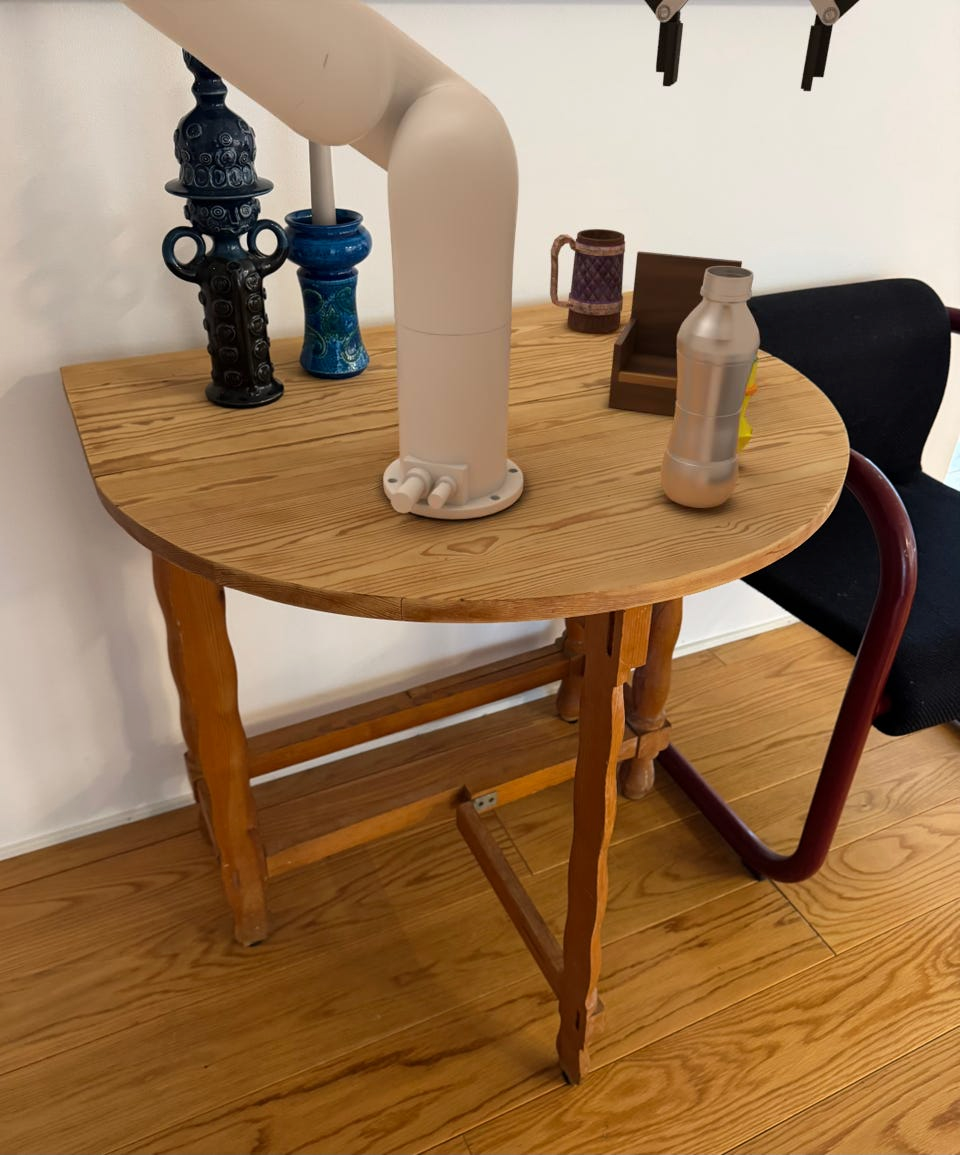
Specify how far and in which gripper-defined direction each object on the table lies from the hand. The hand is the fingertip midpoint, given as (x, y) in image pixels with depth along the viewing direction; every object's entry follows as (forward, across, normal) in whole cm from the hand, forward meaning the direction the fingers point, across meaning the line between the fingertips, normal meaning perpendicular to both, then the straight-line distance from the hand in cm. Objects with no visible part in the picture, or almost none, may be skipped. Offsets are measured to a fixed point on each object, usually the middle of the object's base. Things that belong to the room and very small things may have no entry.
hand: (736, 86), depth 69 cm
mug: (+33, -18, +42) cm, 56 cm away
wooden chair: (+33, -4, +21) cm, 39 cm away
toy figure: (+33, +3, +6) cm, 33 cm away
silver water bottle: (+33, +1, -2) cm, 33 cm away
